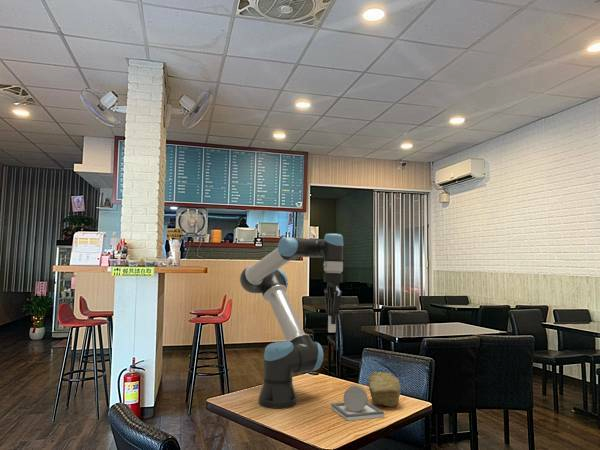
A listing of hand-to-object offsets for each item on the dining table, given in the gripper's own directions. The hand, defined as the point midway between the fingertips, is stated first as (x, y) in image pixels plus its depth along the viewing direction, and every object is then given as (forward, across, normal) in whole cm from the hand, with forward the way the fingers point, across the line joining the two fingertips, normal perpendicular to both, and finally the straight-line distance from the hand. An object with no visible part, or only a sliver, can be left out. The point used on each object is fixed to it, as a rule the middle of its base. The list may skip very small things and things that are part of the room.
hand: (331, 332), depth 175 cm
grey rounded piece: (+28, +7, +8) cm, 30 cm away
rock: (+29, 0, +24) cm, 38 cm away
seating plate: (+29, +8, +8) cm, 31 cm away
